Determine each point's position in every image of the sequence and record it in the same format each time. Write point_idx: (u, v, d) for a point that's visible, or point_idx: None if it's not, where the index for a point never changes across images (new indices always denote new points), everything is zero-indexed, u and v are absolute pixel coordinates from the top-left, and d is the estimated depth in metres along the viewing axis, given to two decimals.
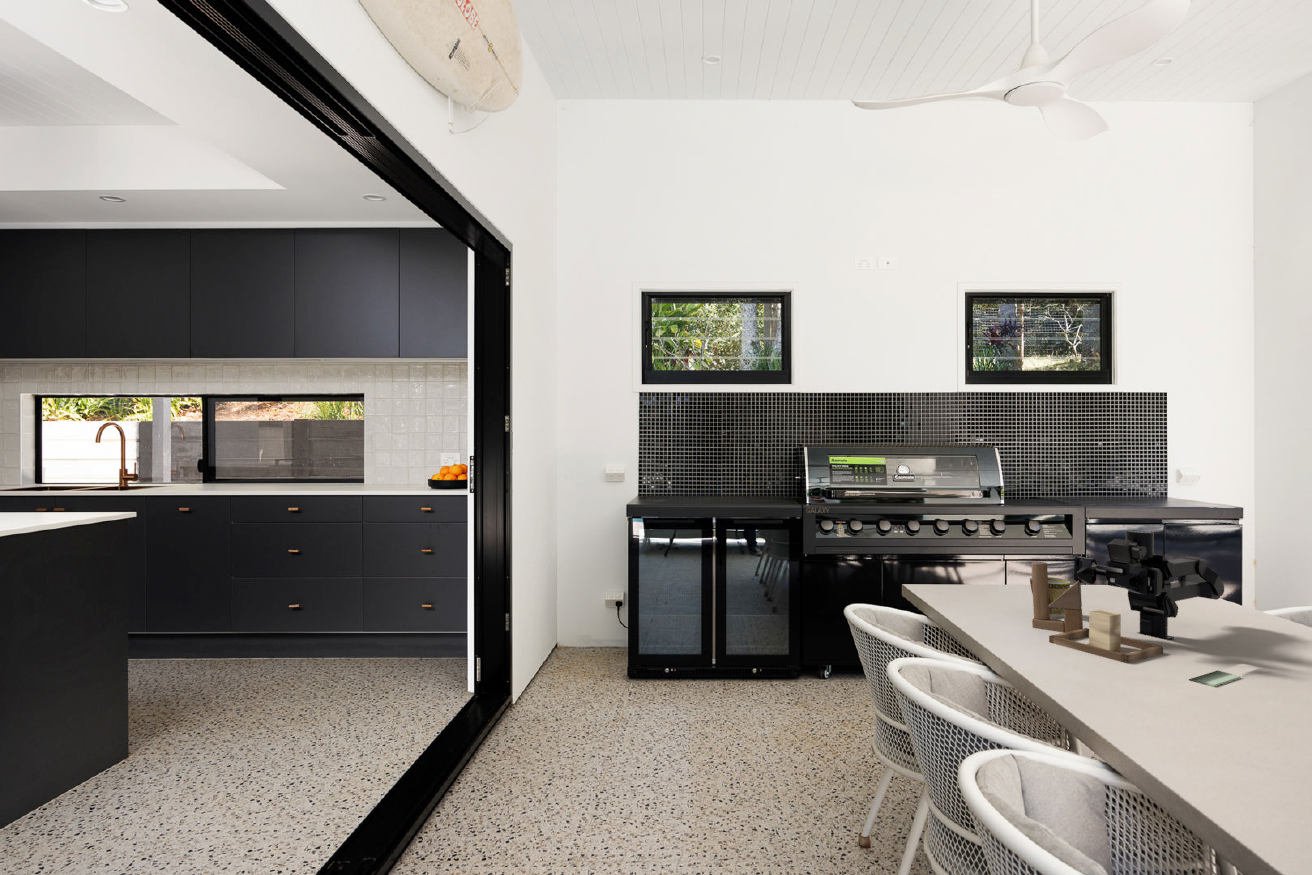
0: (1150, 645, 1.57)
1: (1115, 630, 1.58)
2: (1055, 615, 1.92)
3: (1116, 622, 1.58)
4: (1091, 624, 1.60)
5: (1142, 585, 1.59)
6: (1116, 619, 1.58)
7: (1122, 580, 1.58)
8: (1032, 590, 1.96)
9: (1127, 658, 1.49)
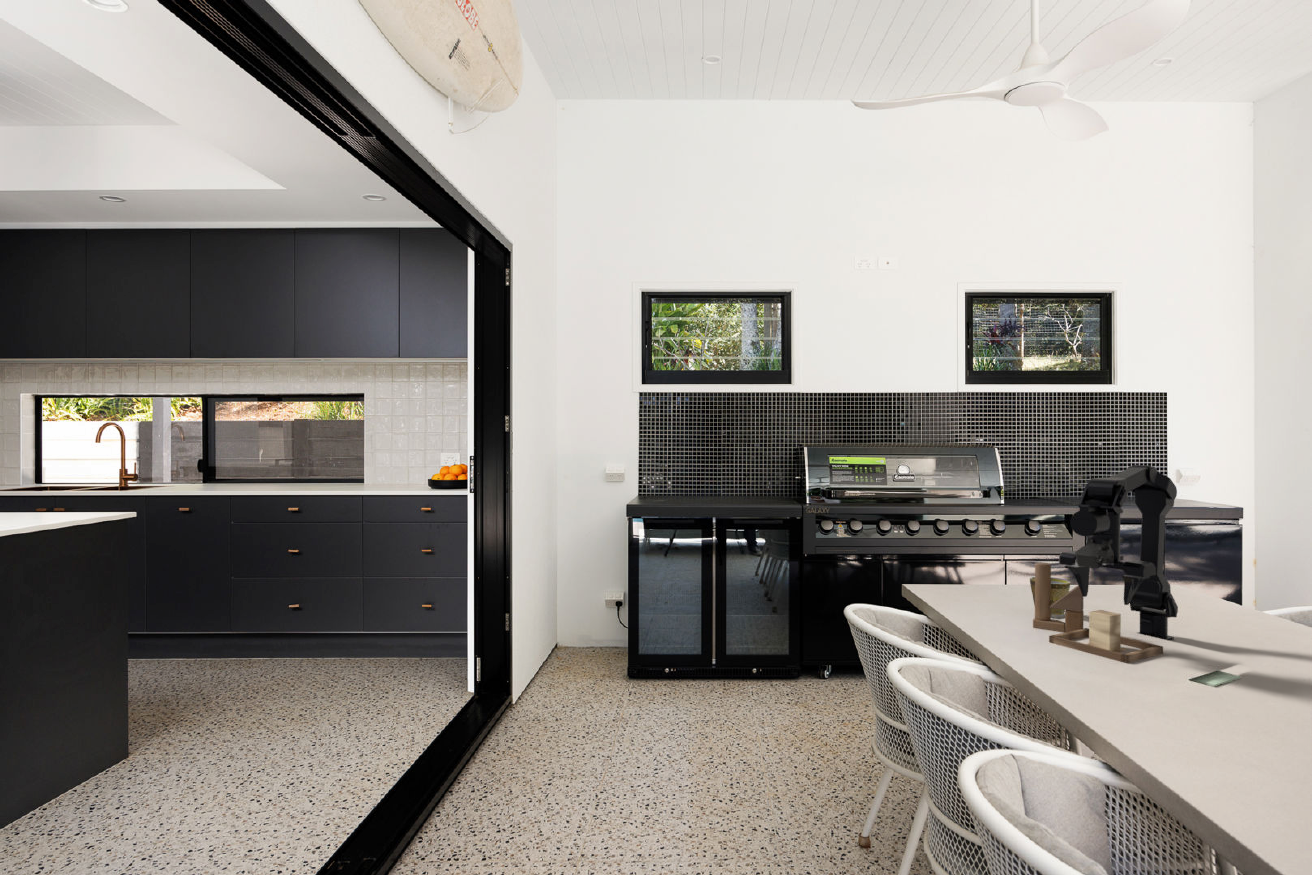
0: (1150, 645, 1.57)
1: (1115, 630, 1.58)
2: (1055, 615, 1.92)
3: (1116, 622, 1.58)
4: (1091, 624, 1.60)
5: None
6: (1116, 619, 1.58)
7: (1129, 598, 1.55)
8: (1032, 590, 1.96)
9: (1127, 658, 1.49)
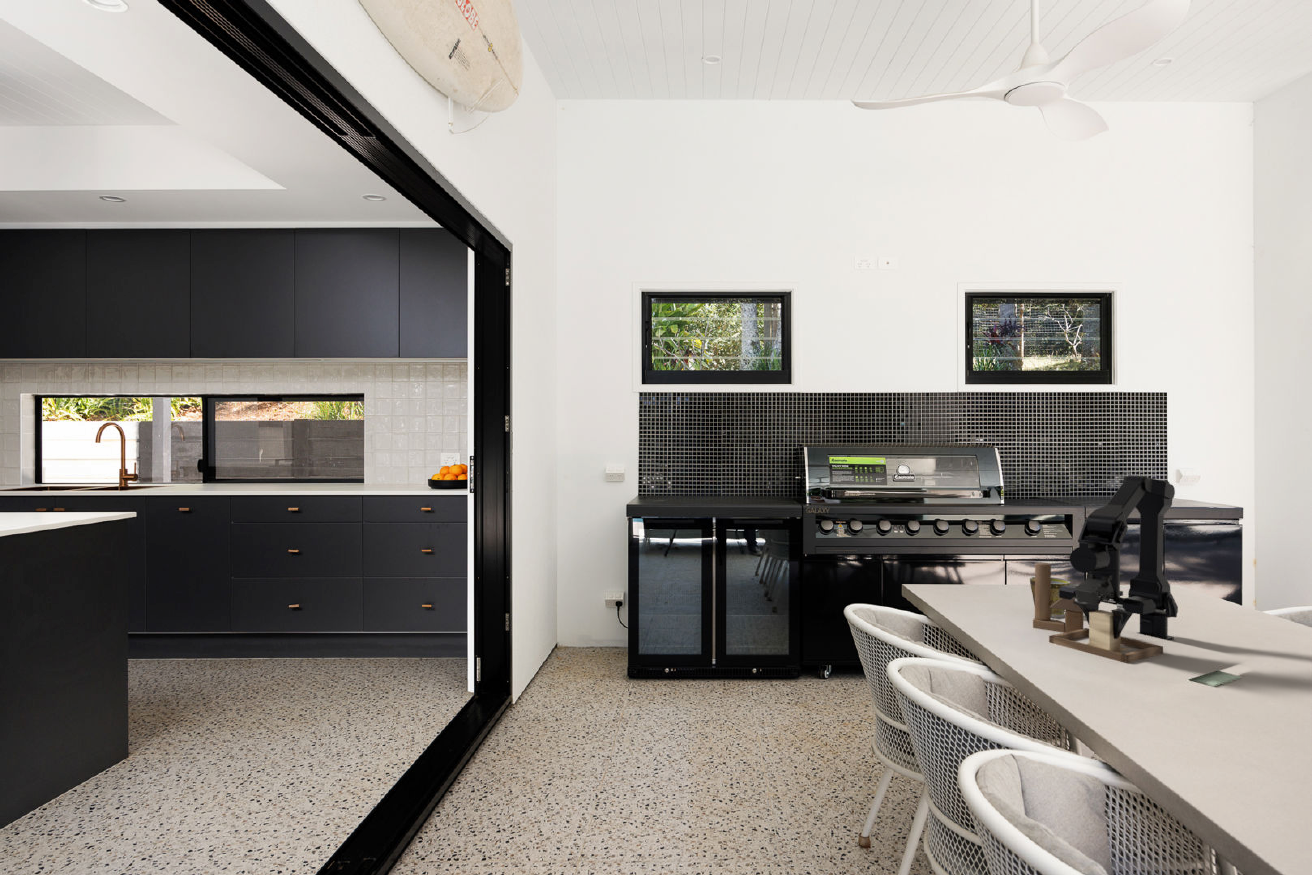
0: (1150, 645, 1.57)
1: None
2: (1055, 615, 1.92)
3: None
4: (1091, 624, 1.60)
5: None
6: None
7: (1118, 632, 1.57)
8: (1032, 590, 1.96)
9: (1127, 658, 1.49)
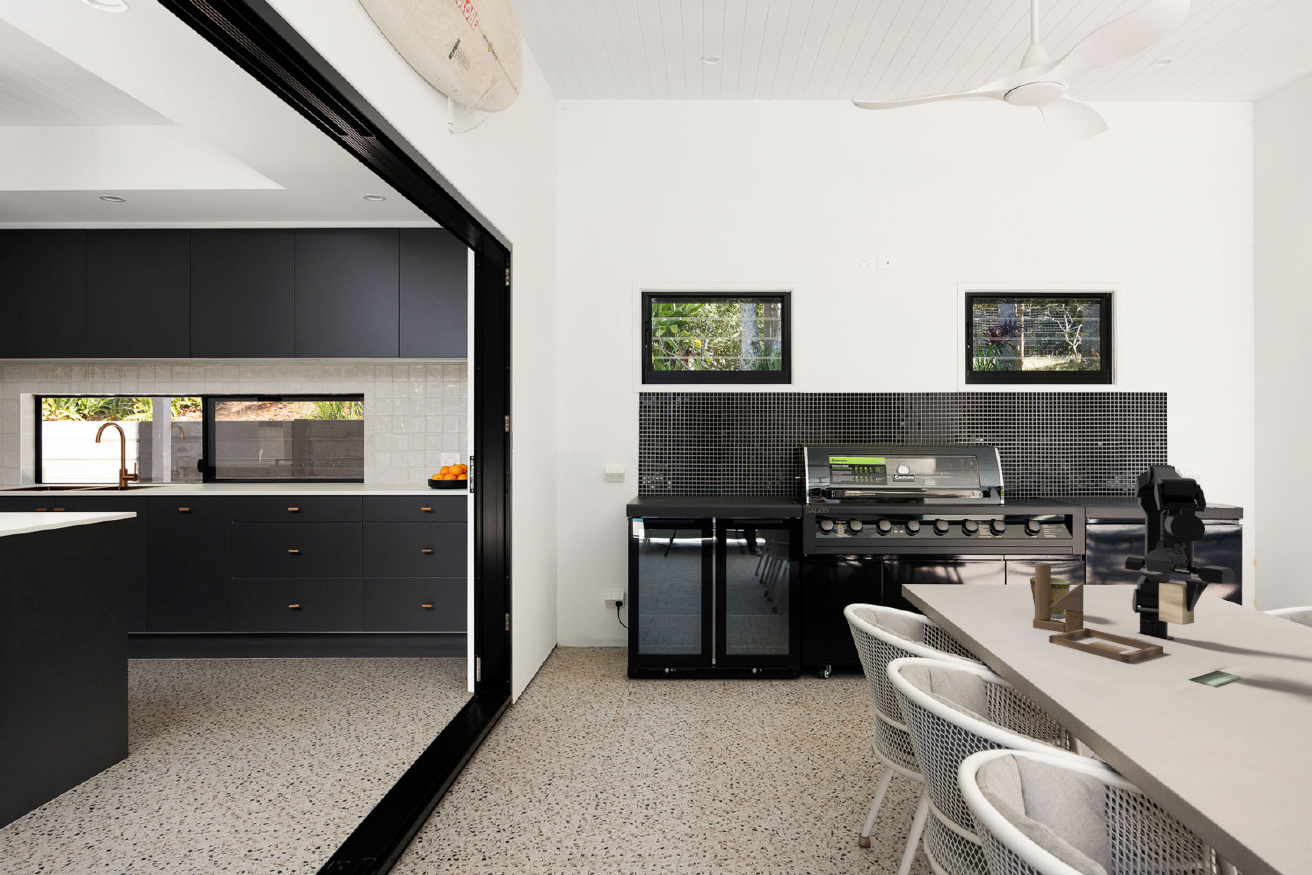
0: (1150, 645, 1.57)
1: None
2: (1055, 615, 1.92)
3: None
4: (1161, 597, 1.49)
5: None
6: None
7: (1192, 604, 1.46)
8: (1032, 590, 1.96)
9: (1127, 658, 1.49)
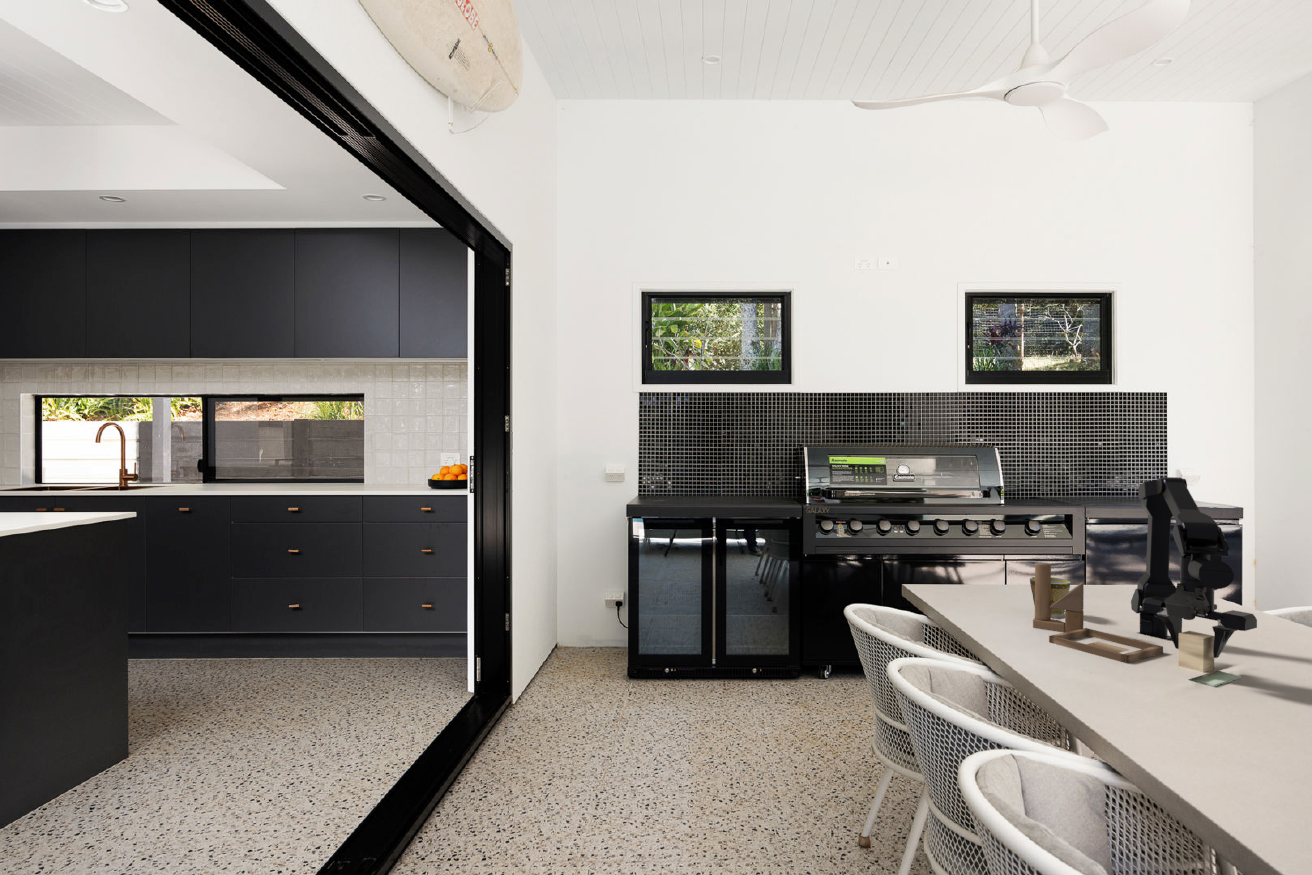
0: (1150, 645, 1.57)
1: (1209, 654, 1.44)
2: (1055, 615, 1.92)
3: (1210, 645, 1.45)
4: (1181, 647, 1.47)
5: None
6: (1210, 642, 1.45)
7: (1219, 650, 1.43)
8: (1032, 590, 1.96)
9: (1127, 658, 1.49)
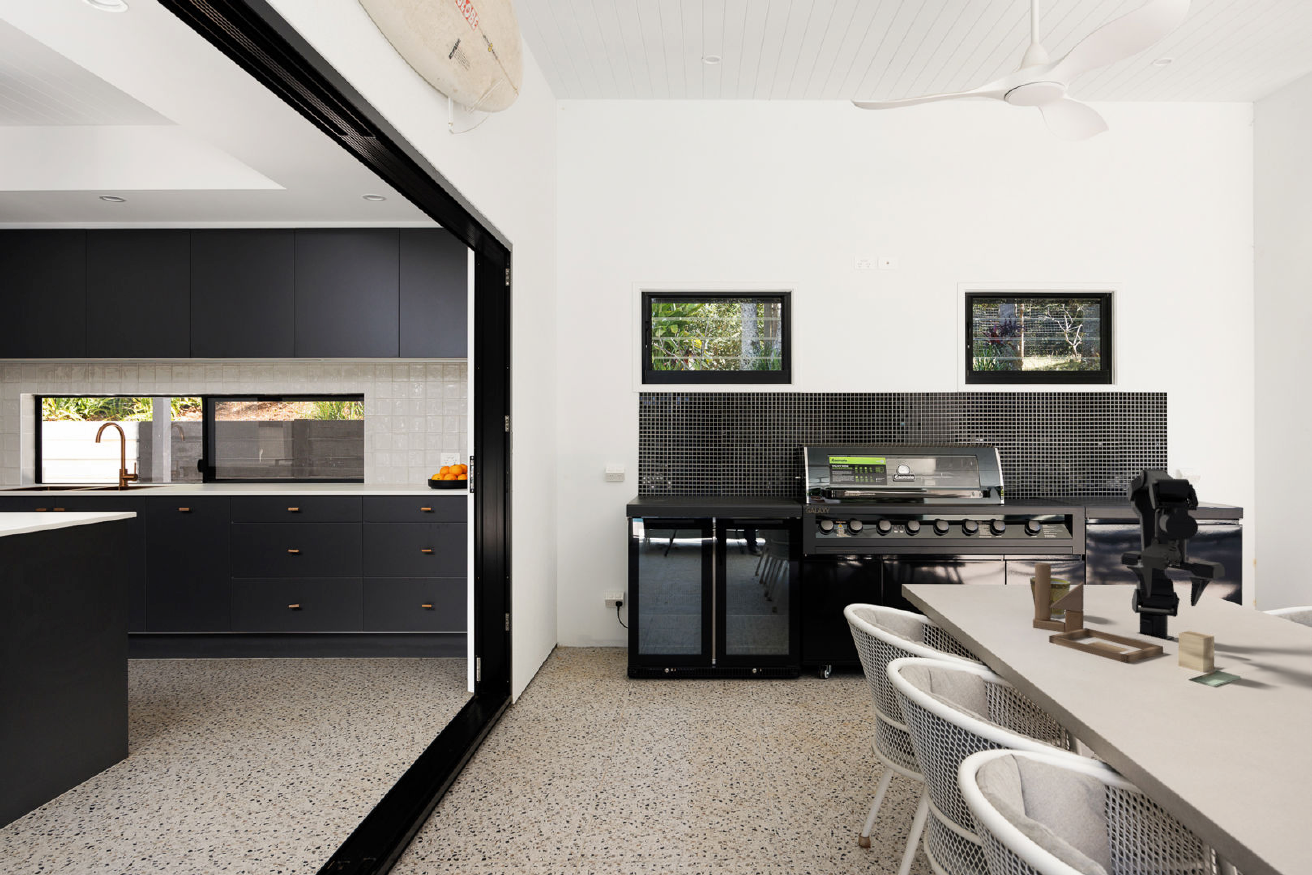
0: (1150, 645, 1.57)
1: (1209, 654, 1.44)
2: (1055, 615, 1.92)
3: (1210, 645, 1.45)
4: (1181, 647, 1.47)
5: None
6: (1210, 642, 1.45)
7: (1196, 599, 1.53)
8: (1032, 590, 1.96)
9: (1127, 658, 1.49)
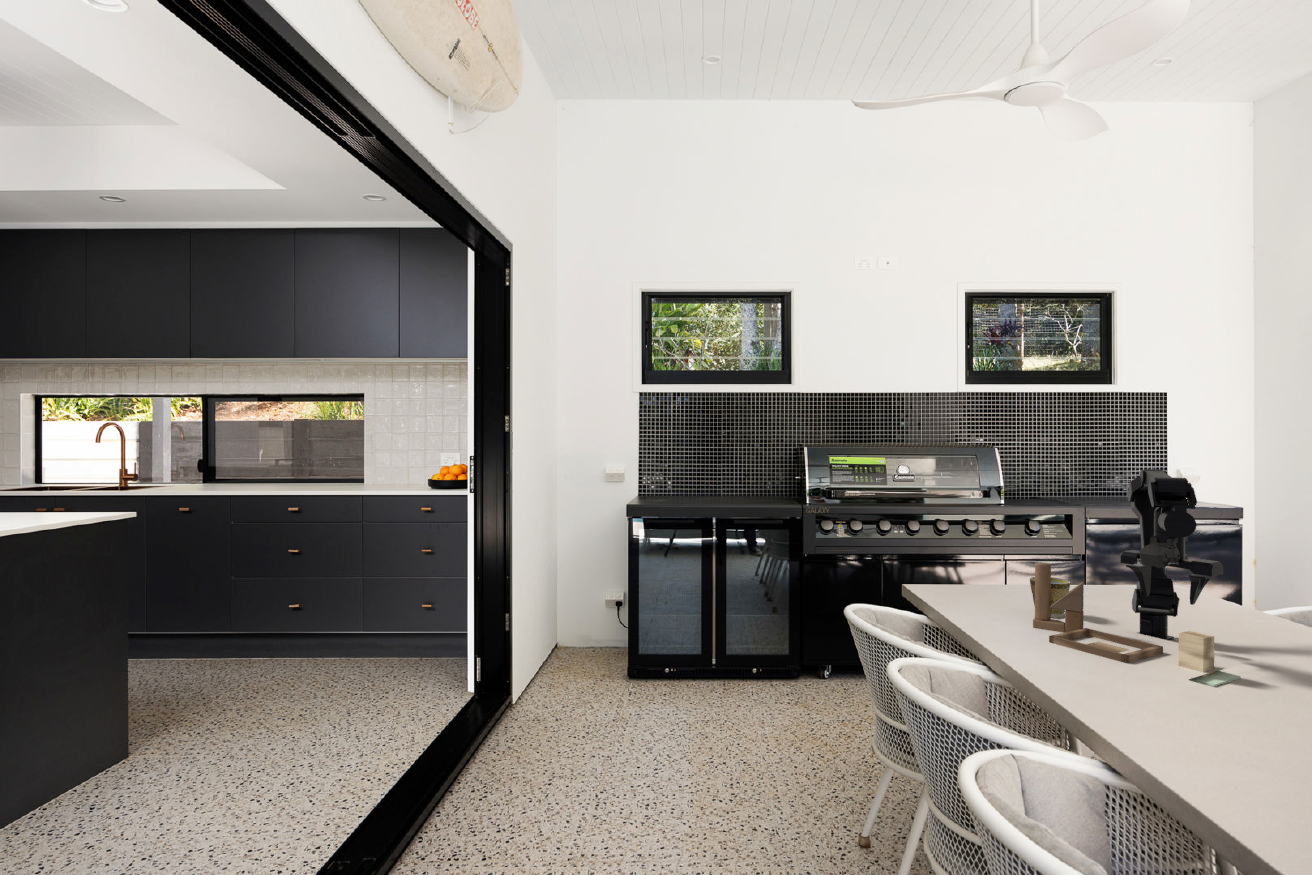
0: (1150, 645, 1.57)
1: (1209, 654, 1.44)
2: (1055, 615, 1.92)
3: (1210, 645, 1.45)
4: (1181, 647, 1.47)
5: None
6: (1210, 642, 1.45)
7: (1195, 597, 1.53)
8: (1032, 590, 1.96)
9: (1127, 658, 1.49)
